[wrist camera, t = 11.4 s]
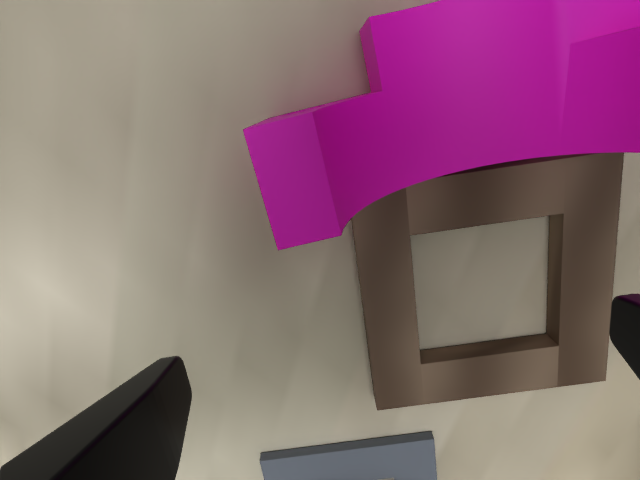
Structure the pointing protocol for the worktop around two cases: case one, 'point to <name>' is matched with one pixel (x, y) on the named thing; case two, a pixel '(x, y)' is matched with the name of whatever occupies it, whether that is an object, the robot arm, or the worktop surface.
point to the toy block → (453, 105)
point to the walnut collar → (563, 278)
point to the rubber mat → (356, 460)
